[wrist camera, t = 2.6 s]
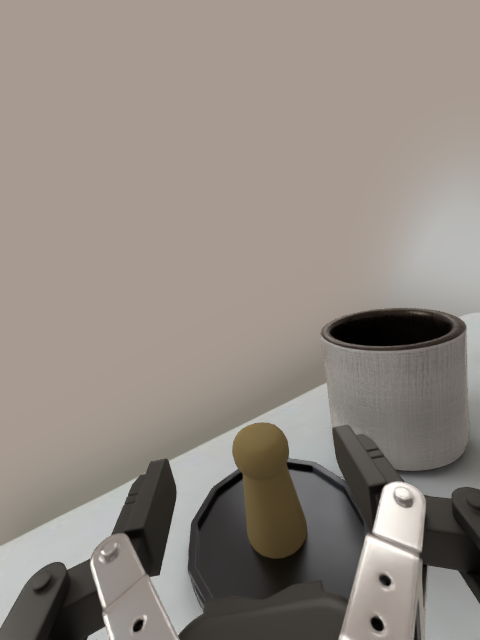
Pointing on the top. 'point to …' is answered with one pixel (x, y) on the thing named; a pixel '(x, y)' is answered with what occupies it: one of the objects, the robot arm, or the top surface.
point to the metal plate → (277, 574)
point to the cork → (269, 491)
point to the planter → (400, 383)
